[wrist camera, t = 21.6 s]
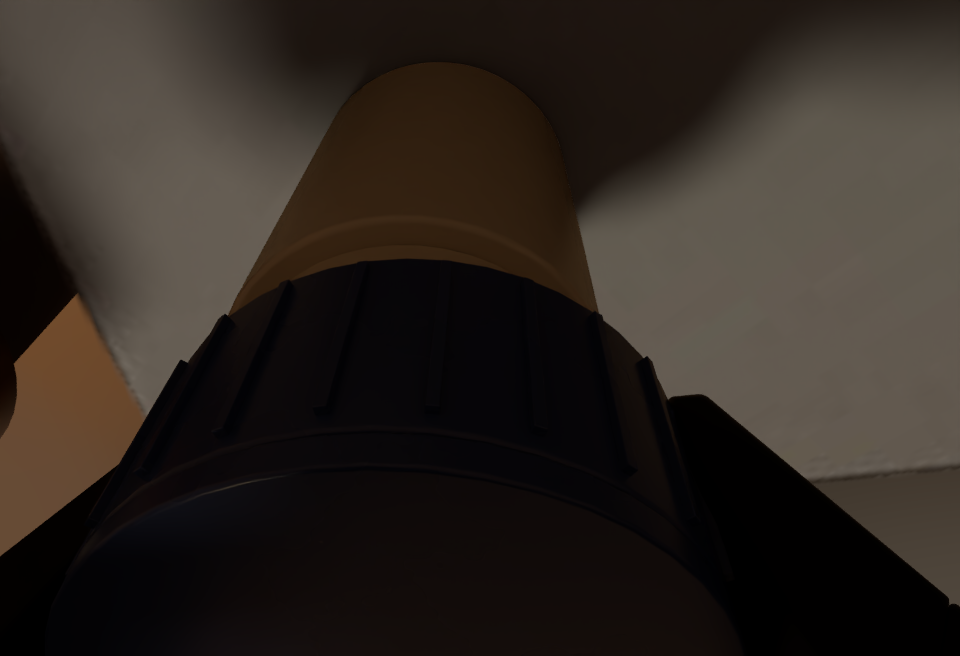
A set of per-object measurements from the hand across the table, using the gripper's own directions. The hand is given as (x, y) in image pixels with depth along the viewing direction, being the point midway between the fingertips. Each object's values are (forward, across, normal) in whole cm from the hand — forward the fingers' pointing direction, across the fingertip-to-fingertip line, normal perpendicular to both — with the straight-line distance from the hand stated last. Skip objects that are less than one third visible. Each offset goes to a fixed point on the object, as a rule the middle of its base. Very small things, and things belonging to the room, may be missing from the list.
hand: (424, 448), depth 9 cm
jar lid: (0, 0, 0) cm, 0 cm away
